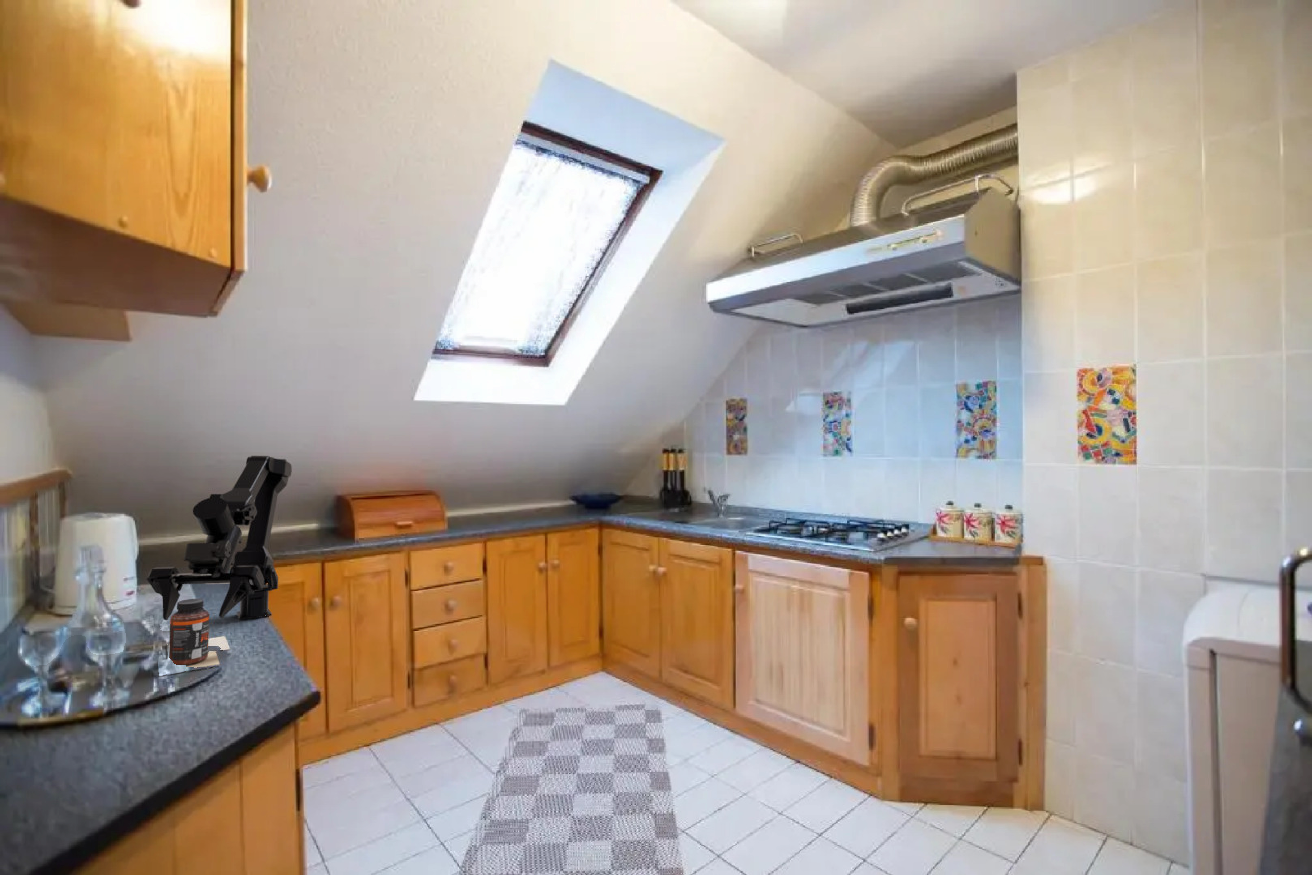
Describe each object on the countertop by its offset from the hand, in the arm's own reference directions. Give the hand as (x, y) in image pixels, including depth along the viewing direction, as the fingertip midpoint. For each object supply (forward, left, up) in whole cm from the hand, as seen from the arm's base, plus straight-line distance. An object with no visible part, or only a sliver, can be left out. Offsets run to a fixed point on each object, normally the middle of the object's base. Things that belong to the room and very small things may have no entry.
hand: (193, 617), depth 120 cm
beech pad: (+1, -1, -8) cm, 8 cm away
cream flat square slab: (-9, +1, -8) cm, 12 cm away
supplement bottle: (+1, -1, -8) cm, 8 cm away
